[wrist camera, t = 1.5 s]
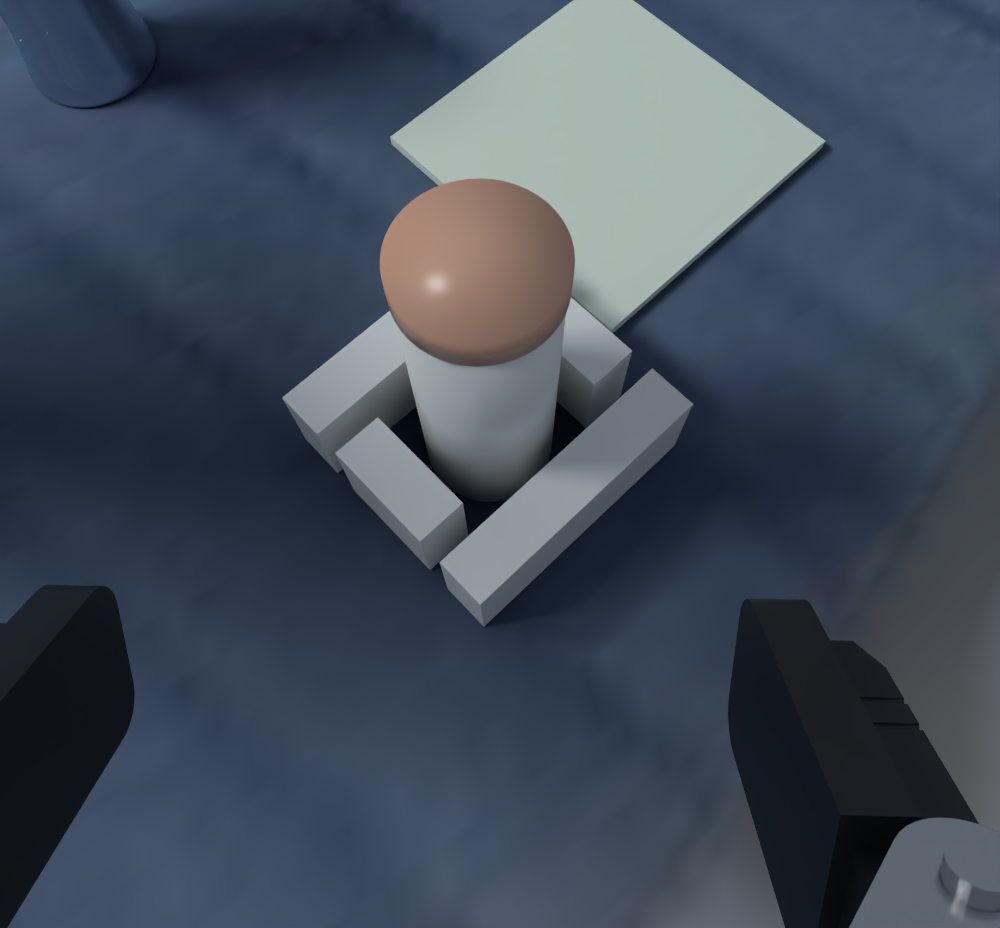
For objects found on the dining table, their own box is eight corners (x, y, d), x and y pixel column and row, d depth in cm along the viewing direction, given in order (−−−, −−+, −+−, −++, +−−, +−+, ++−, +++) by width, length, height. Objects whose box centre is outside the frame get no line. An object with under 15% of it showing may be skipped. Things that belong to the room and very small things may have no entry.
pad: (391, 144, 41) (390, 136, 41) (601, -13, 44) (602, -22, 44) (610, 335, 37) (611, 330, 37) (821, 148, 41) (825, 141, 40)
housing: (306, 439, 36) (281, 397, 32) (494, 284, 38) (492, 228, 35) (483, 627, 33) (480, 604, 29) (674, 445, 36) (693, 404, 32)
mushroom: (398, 441, 36) (339, 256, 24) (491, 361, 37) (481, 146, 25) (486, 530, 34) (472, 383, 22) (580, 444, 36) (615, 260, 24)
